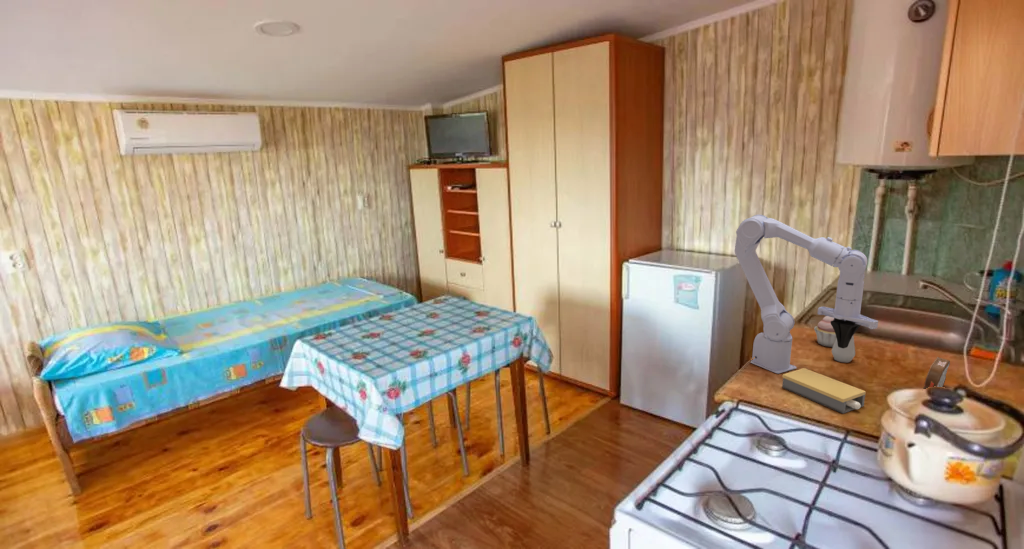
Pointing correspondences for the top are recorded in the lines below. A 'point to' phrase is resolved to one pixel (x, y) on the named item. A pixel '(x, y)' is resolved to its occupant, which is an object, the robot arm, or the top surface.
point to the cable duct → (824, 398)
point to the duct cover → (824, 385)
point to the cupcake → (825, 332)
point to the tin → (937, 373)
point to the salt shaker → (844, 351)
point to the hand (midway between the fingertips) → (842, 347)
